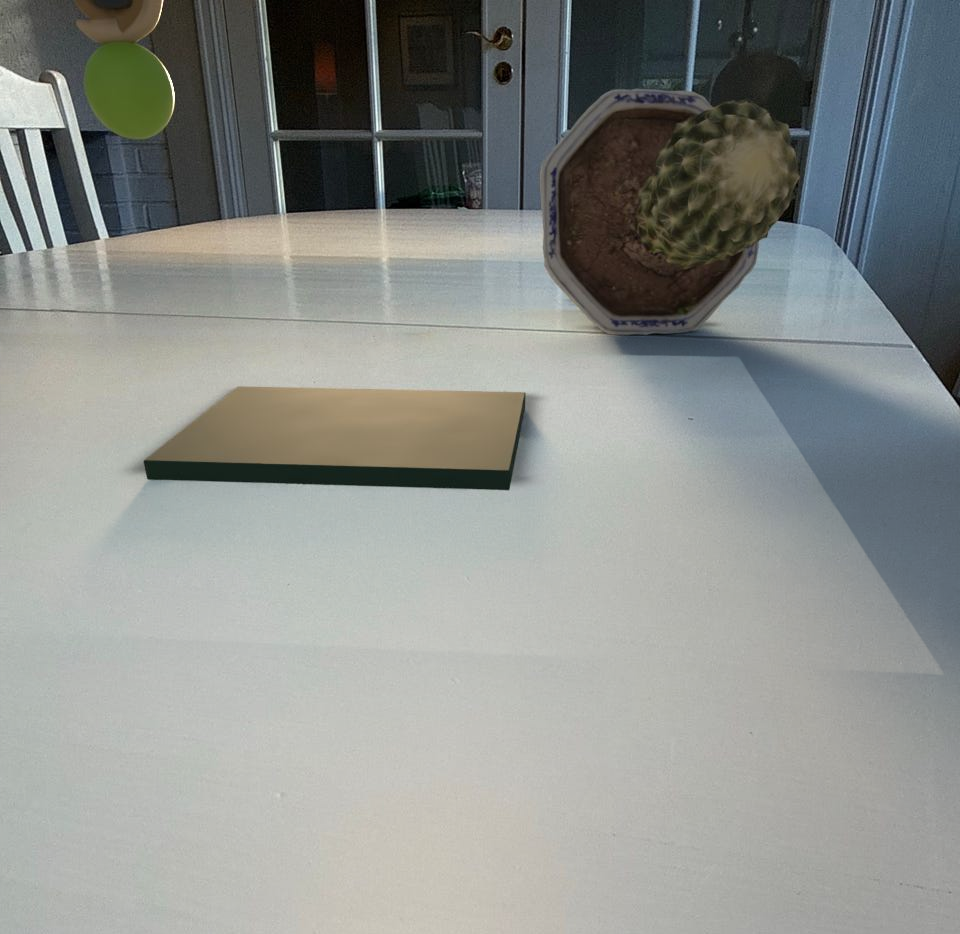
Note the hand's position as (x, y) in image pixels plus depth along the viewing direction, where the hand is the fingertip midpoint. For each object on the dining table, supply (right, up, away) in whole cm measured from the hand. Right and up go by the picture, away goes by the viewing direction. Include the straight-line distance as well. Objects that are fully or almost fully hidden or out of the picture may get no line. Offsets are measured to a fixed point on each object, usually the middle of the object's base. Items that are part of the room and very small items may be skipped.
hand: (121, 8), depth 56 cm
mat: (+15, -28, -6) cm, 33 cm away
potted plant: (+36, -15, +18) cm, 43 cm away
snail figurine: (0, -6, +4) cm, 7 cm away
